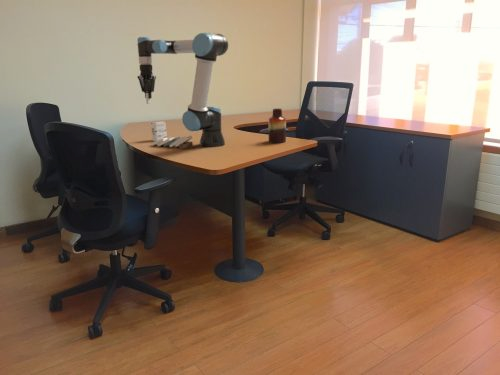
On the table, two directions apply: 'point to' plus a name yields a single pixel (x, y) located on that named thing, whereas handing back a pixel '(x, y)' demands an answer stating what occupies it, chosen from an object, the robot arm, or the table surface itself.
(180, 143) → the domino
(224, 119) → the table surface
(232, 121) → the table surface
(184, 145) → the block
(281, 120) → the brown bottle
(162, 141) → the domino
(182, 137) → the domino
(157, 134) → the ink box
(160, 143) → the domino
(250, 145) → the table surface
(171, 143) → the domino
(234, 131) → the table surface
